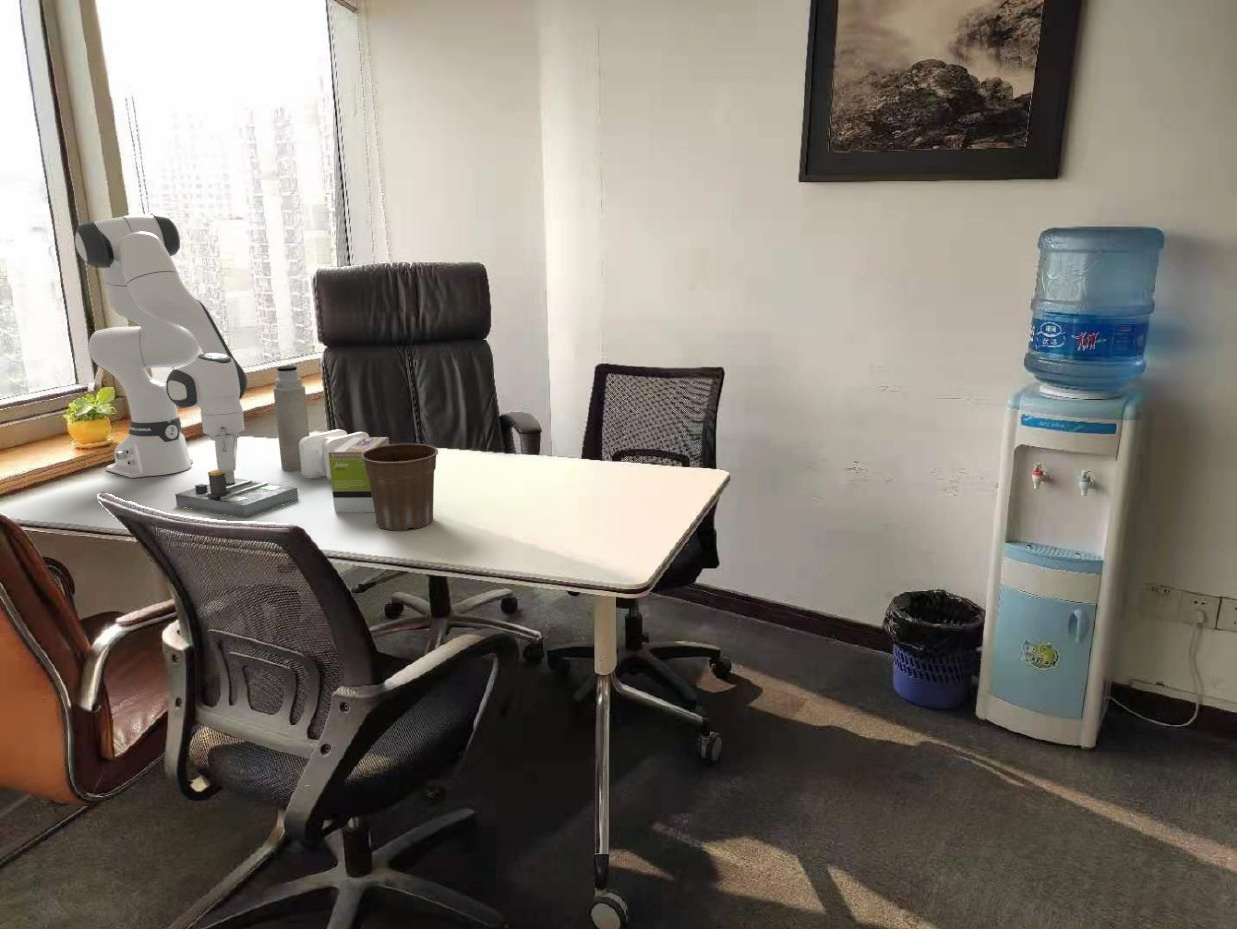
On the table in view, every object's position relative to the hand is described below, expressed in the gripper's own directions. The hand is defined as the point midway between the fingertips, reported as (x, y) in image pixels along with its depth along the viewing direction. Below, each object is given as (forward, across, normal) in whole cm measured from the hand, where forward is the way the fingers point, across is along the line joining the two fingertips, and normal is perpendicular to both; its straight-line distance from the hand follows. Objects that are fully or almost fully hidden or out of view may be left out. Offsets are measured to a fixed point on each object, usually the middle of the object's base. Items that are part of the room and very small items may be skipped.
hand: (230, 481), depth 200 cm
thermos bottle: (+6, +31, -16) cm, 35 cm away
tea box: (+6, -11, -29) cm, 32 cm away
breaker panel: (+6, +1, -1) cm, 6 cm away
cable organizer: (+6, +17, -25) cm, 31 cm away
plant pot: (+6, -30, -35) cm, 47 cm away
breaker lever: (+2, -2, +3) cm, 4 cm away
